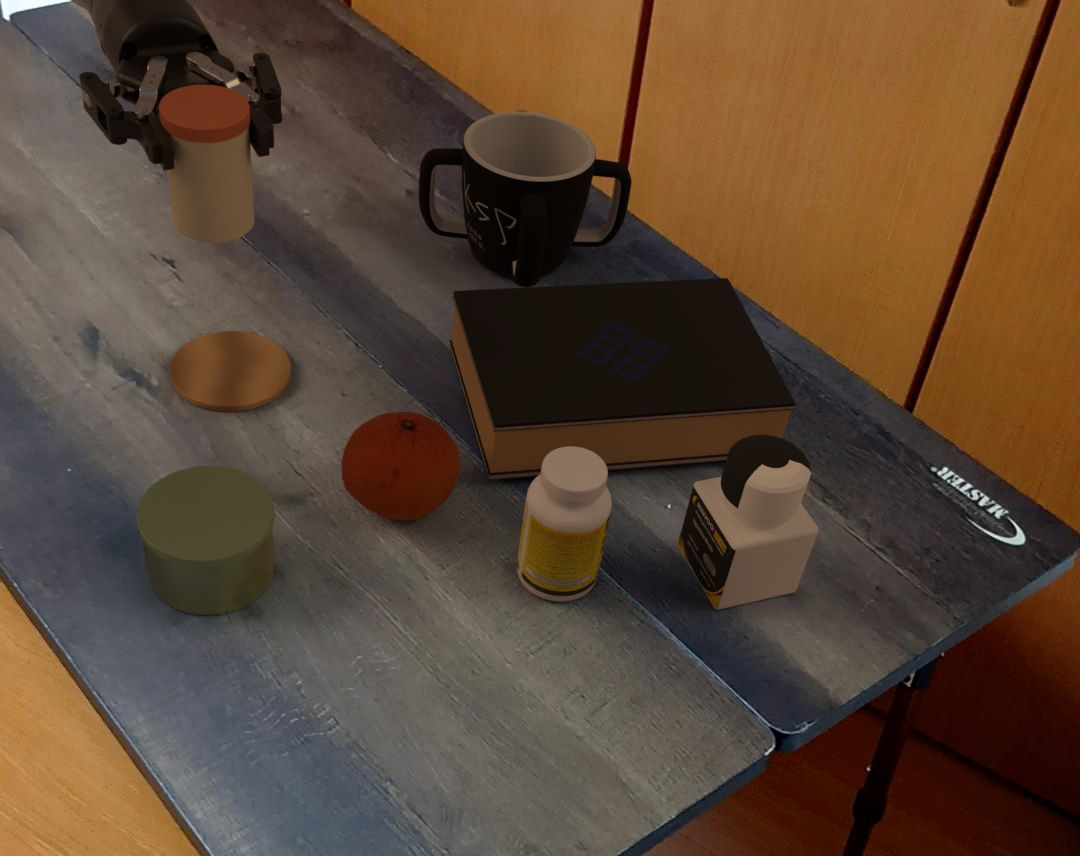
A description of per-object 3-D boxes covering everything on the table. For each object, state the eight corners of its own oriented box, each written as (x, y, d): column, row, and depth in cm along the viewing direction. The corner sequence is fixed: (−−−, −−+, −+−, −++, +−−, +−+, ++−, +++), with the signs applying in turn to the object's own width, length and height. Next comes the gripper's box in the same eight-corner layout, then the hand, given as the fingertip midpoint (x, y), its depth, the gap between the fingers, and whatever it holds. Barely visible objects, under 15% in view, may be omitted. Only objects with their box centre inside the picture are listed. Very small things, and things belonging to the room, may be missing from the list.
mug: (400, 239, 128) (404, 126, 119) (524, 191, 136) (536, 83, 128) (509, 325, 121) (522, 212, 112) (633, 270, 129) (654, 160, 120)
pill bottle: (609, 595, 99) (633, 490, 91) (533, 613, 97) (551, 507, 89) (578, 537, 103) (598, 431, 95) (504, 553, 101) (518, 446, 93)
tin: (150, 626, 92) (141, 569, 88) (140, 531, 98) (131, 472, 94) (285, 608, 95) (283, 551, 90) (267, 516, 101) (264, 458, 97)
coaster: (176, 417, 107) (175, 412, 107) (165, 341, 114) (164, 335, 113) (299, 405, 110) (299, 400, 109) (282, 331, 116) (282, 326, 116)
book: (448, 351, 117) (453, 290, 112) (712, 336, 123) (727, 277, 118) (487, 487, 106) (494, 425, 101) (776, 463, 111) (796, 403, 107)
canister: (175, 246, 93) (162, 131, 87) (167, 199, 97) (155, 85, 91) (261, 240, 95) (255, 127, 89) (250, 194, 99) (243, 82, 92)
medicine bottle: (675, 545, 103) (705, 431, 95) (755, 528, 106) (792, 415, 97) (714, 612, 99) (750, 499, 90) (797, 593, 101) (839, 481, 93)
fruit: (474, 481, 106) (481, 406, 100) (426, 553, 100) (431, 477, 94) (375, 445, 108) (377, 369, 102) (322, 514, 102) (321, 436, 96)
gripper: (46, -4, 94) (102, 114, 84) (243, -22, 99) (318, 87, 90) (62, 94, 100) (116, 215, 90) (248, 72, 105) (319, 184, 95)
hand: (217, 150), depth 90 cm, fingers closed on canister, 6 cm apart
